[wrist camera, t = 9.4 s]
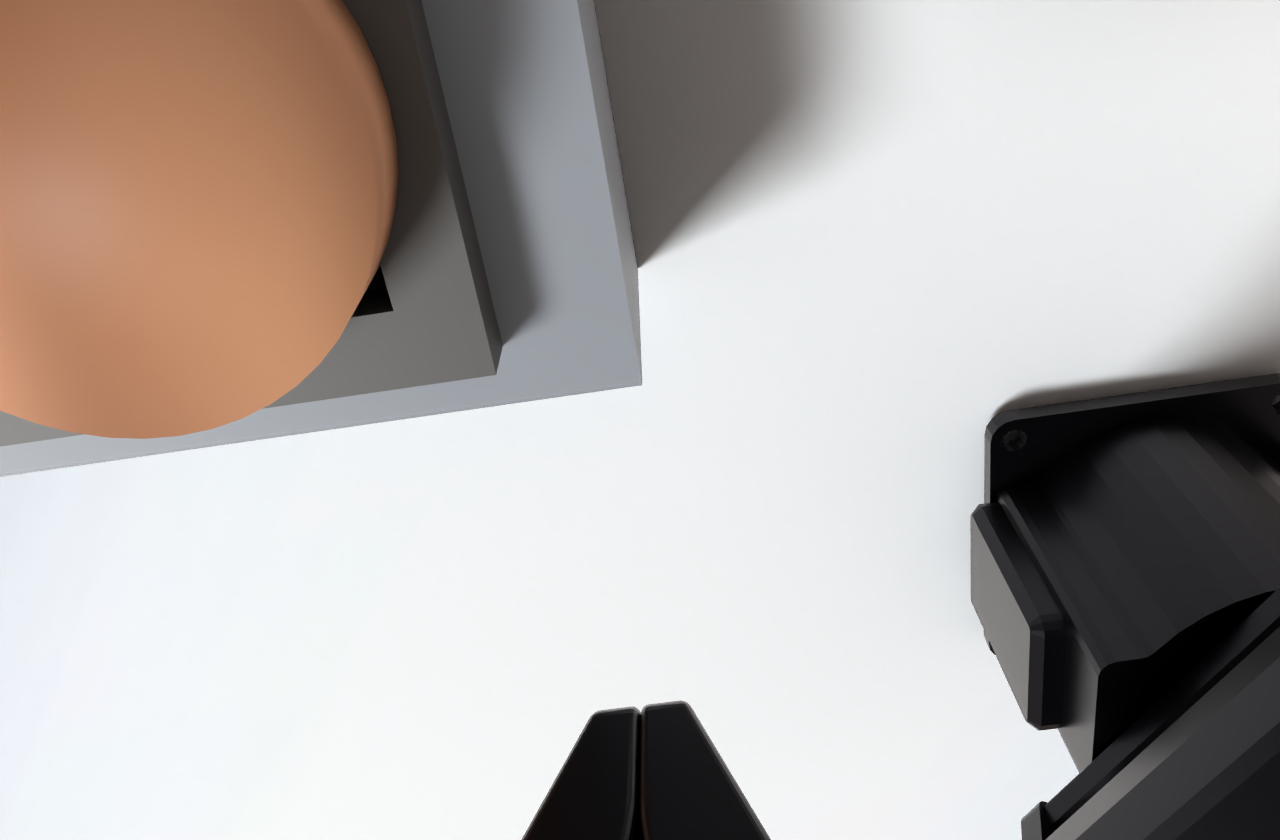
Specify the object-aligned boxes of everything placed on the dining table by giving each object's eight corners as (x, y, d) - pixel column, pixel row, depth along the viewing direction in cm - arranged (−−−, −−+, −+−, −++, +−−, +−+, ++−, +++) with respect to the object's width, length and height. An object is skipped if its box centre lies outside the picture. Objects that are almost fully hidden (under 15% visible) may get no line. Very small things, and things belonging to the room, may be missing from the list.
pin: (391, -203, 16) (267, -223, 11) (491, 233, 20) (438, 398, 14) (-47, -125, 17) (-395, -103, 11) (124, 290, 20) (-73, 472, 14)
